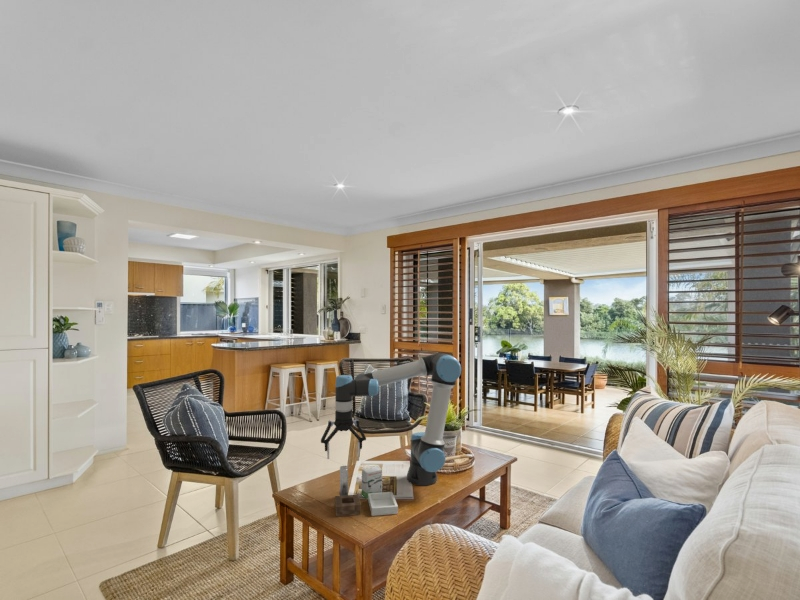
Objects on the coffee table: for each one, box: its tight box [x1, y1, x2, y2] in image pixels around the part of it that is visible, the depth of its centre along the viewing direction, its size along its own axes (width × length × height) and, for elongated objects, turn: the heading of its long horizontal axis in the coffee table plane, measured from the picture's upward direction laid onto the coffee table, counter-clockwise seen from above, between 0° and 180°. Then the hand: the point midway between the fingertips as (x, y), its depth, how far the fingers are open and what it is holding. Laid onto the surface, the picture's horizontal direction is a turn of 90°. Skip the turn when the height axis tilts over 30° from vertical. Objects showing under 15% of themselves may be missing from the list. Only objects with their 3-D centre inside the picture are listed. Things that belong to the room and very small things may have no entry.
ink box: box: [361, 465, 383, 500], centre depth 195 cm, size 9×5×12 cm, turn 123°
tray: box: [367, 491, 399, 517], centre depth 183 cm, size 11×14×3 cm
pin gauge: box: [339, 465, 349, 496], centre depth 191 cm, size 4×4×14 cm
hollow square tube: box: [334, 493, 362, 517], centre depth 180 cm, size 10×10×4 cm
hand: (343, 457), depth 191 cm, fingers open, 13 cm apart
